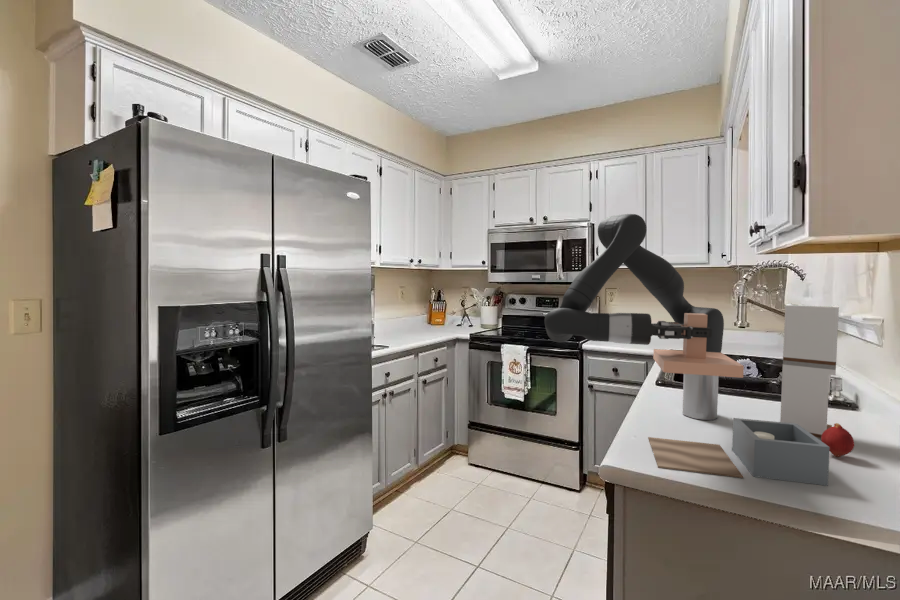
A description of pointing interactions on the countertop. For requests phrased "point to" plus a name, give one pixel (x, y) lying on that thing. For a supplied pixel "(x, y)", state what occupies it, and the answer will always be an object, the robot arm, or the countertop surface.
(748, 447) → the storage box
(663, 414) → the countertop surface
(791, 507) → the countertop surface
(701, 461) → the board
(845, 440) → the pomegranate
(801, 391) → the white tall block
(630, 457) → the countertop surface
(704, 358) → the lid
